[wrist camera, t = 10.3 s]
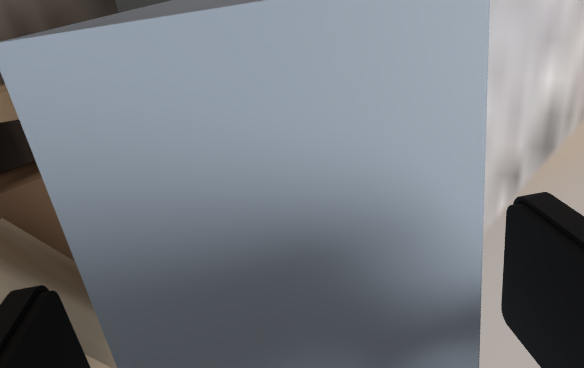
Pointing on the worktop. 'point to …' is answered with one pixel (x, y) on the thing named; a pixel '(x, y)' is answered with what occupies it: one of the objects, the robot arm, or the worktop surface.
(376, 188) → the grey-blue rectangular brick
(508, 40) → the worktop surface
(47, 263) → the offcut upper
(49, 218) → the offcut lower
